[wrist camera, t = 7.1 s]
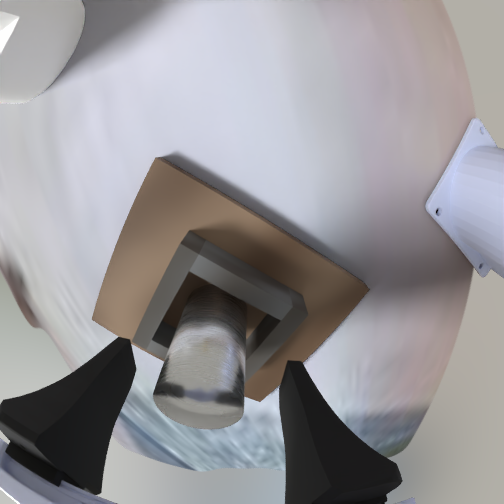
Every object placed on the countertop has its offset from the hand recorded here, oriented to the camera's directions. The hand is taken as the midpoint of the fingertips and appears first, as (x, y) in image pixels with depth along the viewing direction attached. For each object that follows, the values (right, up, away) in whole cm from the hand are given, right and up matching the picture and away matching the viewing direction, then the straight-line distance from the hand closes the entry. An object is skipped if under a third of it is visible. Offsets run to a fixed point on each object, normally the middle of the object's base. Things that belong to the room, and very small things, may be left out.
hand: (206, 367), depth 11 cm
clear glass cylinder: (0, +2, +4) cm, 5 cm away
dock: (0, +2, +5) cm, 6 cm away
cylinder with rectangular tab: (-13, +20, -2) cm, 24 cm away
